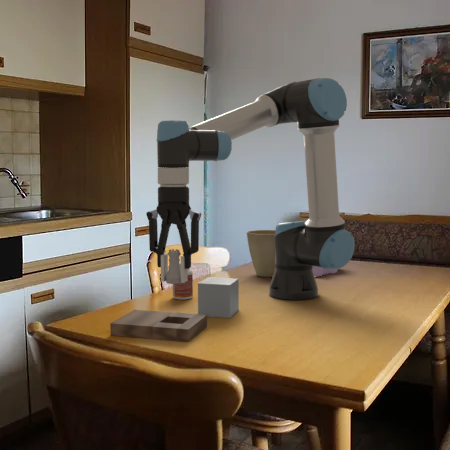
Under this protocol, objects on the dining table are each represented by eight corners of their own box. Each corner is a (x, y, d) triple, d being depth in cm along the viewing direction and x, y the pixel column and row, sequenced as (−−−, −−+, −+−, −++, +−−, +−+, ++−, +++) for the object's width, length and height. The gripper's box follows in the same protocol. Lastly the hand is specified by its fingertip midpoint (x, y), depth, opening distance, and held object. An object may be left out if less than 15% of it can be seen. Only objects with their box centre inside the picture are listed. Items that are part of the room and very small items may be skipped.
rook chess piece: (165, 280, 154) (165, 248, 153) (183, 280, 155) (183, 248, 154) (165, 284, 150) (164, 251, 149) (183, 284, 150) (183, 251, 149)
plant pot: (295, 275, 227) (296, 231, 226) (268, 280, 217) (268, 235, 215) (265, 269, 238) (265, 228, 236) (238, 275, 228) (238, 231, 226)
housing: (238, 310, 175) (238, 278, 174) (230, 318, 167) (229, 285, 166) (208, 308, 178) (207, 277, 177) (198, 315, 169) (197, 283, 168)
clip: (324, 278, 222) (324, 259, 221) (292, 275, 228) (292, 256, 227) (342, 269, 239) (343, 251, 238) (312, 267, 245) (312, 249, 244)
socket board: (206, 326, 159) (206, 314, 158) (188, 341, 145) (188, 329, 145) (134, 320, 164) (134, 309, 164) (110, 335, 151) (110, 323, 151)
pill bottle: (196, 298, 190) (196, 262, 189) (179, 301, 187) (178, 264, 186) (186, 294, 195) (186, 259, 194) (169, 297, 192) (168, 261, 191)
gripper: (212, 185, 151) (213, 280, 153) (145, 184, 156) (147, 276, 158) (203, 186, 144) (203, 286, 146) (133, 185, 149) (135, 282, 151)
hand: (174, 281), depth 152 cm, fingers closed on rook chess piece, 4 cm apart
